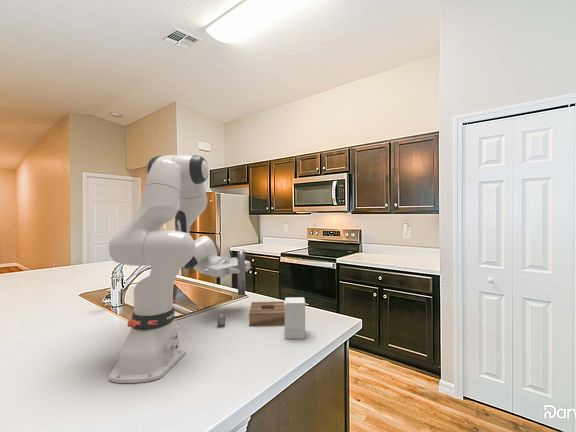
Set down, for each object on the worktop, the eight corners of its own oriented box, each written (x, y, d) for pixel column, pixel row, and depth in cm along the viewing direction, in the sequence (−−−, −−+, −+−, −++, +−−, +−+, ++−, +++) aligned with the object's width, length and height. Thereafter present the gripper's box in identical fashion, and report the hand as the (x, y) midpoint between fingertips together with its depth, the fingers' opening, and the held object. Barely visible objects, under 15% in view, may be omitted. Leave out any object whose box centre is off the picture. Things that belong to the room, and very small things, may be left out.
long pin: (244, 295, 123) (244, 251, 123) (237, 295, 123) (237, 251, 123) (245, 292, 126) (245, 250, 126) (238, 293, 126) (238, 250, 126)
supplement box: (305, 339, 104) (305, 303, 104) (284, 339, 104) (284, 303, 104) (304, 330, 111) (304, 296, 111) (285, 330, 111) (284, 296, 111)
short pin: (224, 327, 115) (224, 315, 115) (216, 327, 114) (216, 316, 114) (225, 324, 118) (225, 313, 118) (218, 324, 117) (217, 313, 117)
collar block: (285, 325, 116) (285, 312, 116) (249, 326, 116) (249, 313, 116) (283, 312, 130) (283, 301, 130) (251, 313, 130) (251, 302, 130)
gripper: (201, 263, 124) (223, 266, 116) (237, 256, 140) (259, 259, 132) (201, 278, 124) (223, 283, 116) (237, 270, 140) (259, 273, 132)
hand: (242, 270), depth 124 cm, fingers closed on long pin, 3 cm apart
